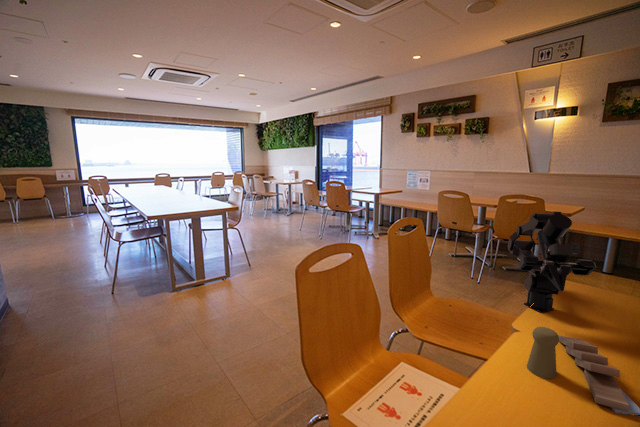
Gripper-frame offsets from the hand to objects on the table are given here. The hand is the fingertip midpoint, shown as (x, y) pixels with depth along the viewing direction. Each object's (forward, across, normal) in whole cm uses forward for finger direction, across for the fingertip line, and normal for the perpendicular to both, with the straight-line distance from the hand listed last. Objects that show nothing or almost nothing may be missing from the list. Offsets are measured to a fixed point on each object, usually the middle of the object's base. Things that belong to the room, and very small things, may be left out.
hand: (561, 290), depth 90 cm
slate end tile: (+25, 0, -7) cm, 26 cm away
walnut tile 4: (+24, 0, -8) cm, 25 cm away
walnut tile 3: (+21, 0, -4) cm, 21 cm away
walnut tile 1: (+13, 0, +4) cm, 14 cm away
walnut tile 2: (+17, 0, 0) cm, 17 cm away
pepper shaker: (+25, -12, -6) cm, 28 cm away
